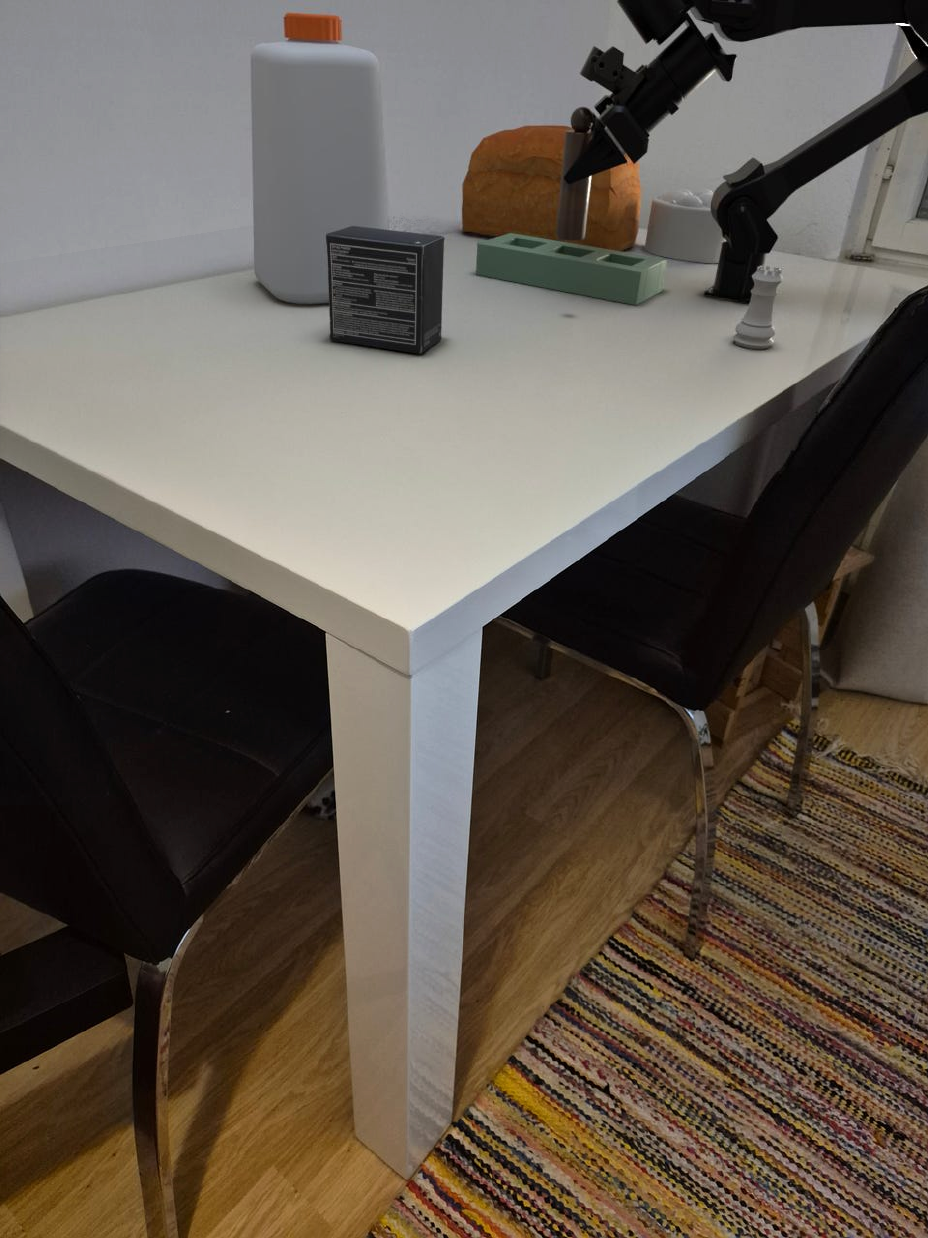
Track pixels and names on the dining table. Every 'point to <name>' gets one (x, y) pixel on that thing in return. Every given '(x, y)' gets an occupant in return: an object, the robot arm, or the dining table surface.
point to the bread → (544, 190)
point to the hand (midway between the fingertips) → (565, 178)
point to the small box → (385, 288)
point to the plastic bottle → (313, 152)
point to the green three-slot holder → (571, 268)
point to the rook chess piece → (759, 311)
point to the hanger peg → (577, 193)
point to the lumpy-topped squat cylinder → (684, 227)
